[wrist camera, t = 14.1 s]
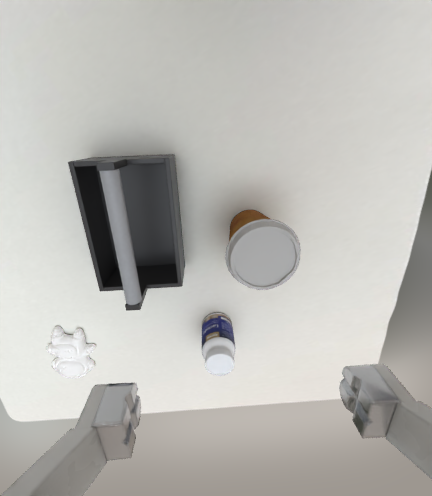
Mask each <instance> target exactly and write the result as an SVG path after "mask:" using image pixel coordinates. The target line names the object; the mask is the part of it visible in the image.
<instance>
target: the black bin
mask: <svg viewBox="0 0 432 496" xmlns="http://www.w3.org/2000/svg"><path fill="white" fill-rule="evenodd" d="M68 164H69V168H70V172H71V176H72V180H73V184H74V188H75V192H76V196H77V200H78V204H79V208H80V212H81V216H82V220H83V224H84V229H85V233H86V237H87V241H88V245H89V249H90V253H91V257H92V261H93V265H94V269H95V273H96V277H97V281H98V285H99V289H100V291H113V290H124V294H125V299H126V305H125V306H126V310H140V309H141V306H142V303H143V300H144V297H145V295H146V292H147V288H163V287H180V286H182V284H183V276H184V268H185V261H184V250H183V239H182V228H181V218H180V207H179V196H178V185H177V175H176V164H175V154H170V155H146V156H122V157H98V158H87V159H82V160H76V161H71V162H68Z"/></svg>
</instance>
